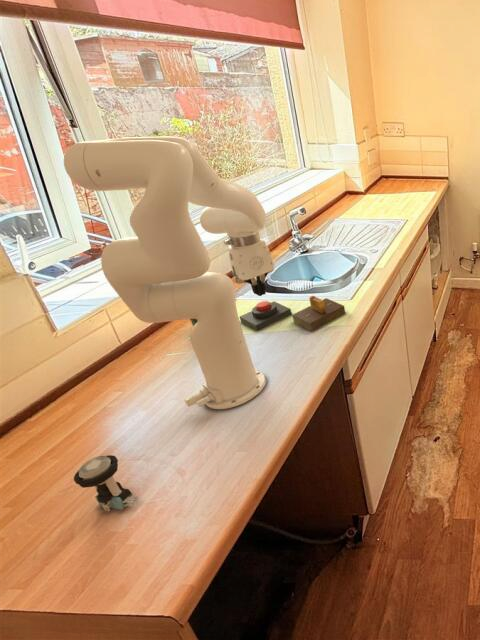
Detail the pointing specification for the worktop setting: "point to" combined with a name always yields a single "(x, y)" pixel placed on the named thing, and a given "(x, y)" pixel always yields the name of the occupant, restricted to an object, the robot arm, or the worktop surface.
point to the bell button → (263, 306)
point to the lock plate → (318, 315)
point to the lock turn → (317, 304)
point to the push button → (104, 482)
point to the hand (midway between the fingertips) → (260, 293)
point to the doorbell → (265, 316)
